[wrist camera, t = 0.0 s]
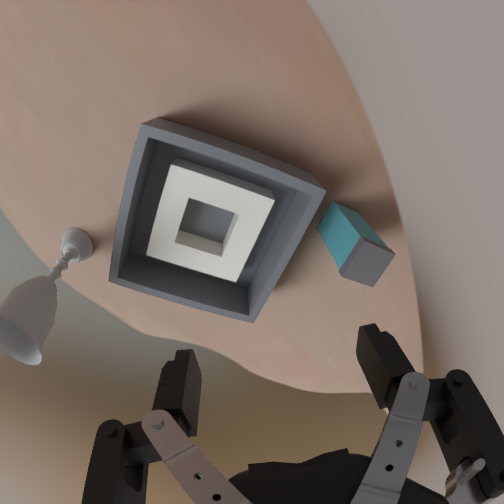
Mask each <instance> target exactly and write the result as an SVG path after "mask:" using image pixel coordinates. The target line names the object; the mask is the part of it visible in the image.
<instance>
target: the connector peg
mask: <svg viewBox="0 0 504 504" xmlns="http://www.w3.org/2000/svg"><path fill="white" fill-rule="evenodd" d="M317 229H318V231H319V233H320V234H321V236H322V238H323V240H324V242H325V243H326V245H327V247H328V249H329V251H330V253H331V254H332V256H333V258H334V260H335V262H336V264H337V266H338V267H339V269H340V270H339V272H340V274H341V276H342V277H344V278H347V279H350V280H353V281H356V282H359V283H362V284H365V285H368V286H371V287H373V286H374V285H375V284H376V282H377V281H378V279H379V278H380V277H381V275H382V274H383V272H384V271H385V269H386V268H387V266H388V265H389V264H390V262H391V261H392V259H393V258H394V256H395V253H394V252H393V251H392V250H391V249H389V248H388V247H387V246H386V244H385V243H384V242H383V241H382V240H381V238H380V237H379V236H378V235H377V234H376V233H375V231H374V230H373V229H372V228H371V227H370V226H369V224H368V223H367V222H366V221H365V220H364V219H363V218H362V217H361V215H360V214H359V213H358V212H356V211H353V210H351V209H349V208H347V207H345V206H343V205H340V204H338V203H336V202H334V201H332V202H331V204H330V206H329V208H328V210H327V211H326V213H325V215H324V217H323V219H322V220H321V222H320V224H319V226H318V228H317Z"/></svg>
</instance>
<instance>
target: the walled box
mask: <svg viewBox="0 0 504 504" xmlns="http://www.w3.org/2000/svg"><path fill="white" fill-rule="evenodd" d="M326 192H327V191H326V190H325V188H324V187H323V186H322V185H321V184H320V183H319V182H318V180H317V179H316V178H315V177H314V176H313V175H312V174H311V173H309V172H307V171H305V170H303V169H300V168H298V167H296V166H293V165H291V164H289V163H286V162H284V161H281V160H279V159H276V158H274V157H272V156H269V155H267V154H264V153H261V152H259V151H256V150H254V149H251V148H249V147H246V146H243V145H240V144H238V143H235V142H232V141H230V140H227V139H224V138H221V137H218V136H215V135H212V134H209V133H207V132H204V131H201V130H197V129H194V128H191V127H188V126H185V125H182V124H178V123H175V122H172V121H169V120H165V119H162V118H158V117H157V118H154V119H152V120H149V121H147V122H144V123H142V124H141V126H140V129H139V132H138V136H137V139H136V142H135V146H134V150H133V153H132V157H131V161H130V165H129V169H128V173H127V177H126V181H125V186H124V190H123V195H122V199H121V204H120V209H119V214H118V220H117V225H116V231H115V237H114V244H113V250H112V257H111V265H110V273H109V282H112V283H115V284H118V285H121V286H124V287H127V288H130V289H133V290H136V291H139V292H142V293H146V294H149V295H152V296H155V297H159V298H162V299H165V300H169V301H172V302H175V303H179V304H182V305H186V306H189V307H193V308H196V309H200V310H204V311H207V312H211V313H215V314H219V315H223V316H226V317H230V318H234V319H238V320H242V321H246V322H251V323H254V321H255V320H256V318H257V316H258V315H259V313H260V311H261V309H262V308H263V306H264V304H265V302H266V301H267V299H268V297H269V296H270V294H271V292H272V290H273V289H274V287H275V285H276V283H277V282H278V280H279V278H280V276H281V274H282V273H283V271H284V269H285V267H286V266H287V264H288V262H289V260H290V258H291V257H292V255H293V253H294V251H295V249H296V248H297V246H298V244H299V242H300V240H301V238H302V237H303V235H304V233H305V231H306V229H307V227H308V226H309V224H310V222H311V220H312V218H313V216H314V214H315V213H316V211H317V209H318V207H319V205H320V203H321V201H322V199H323V198H324V196H325V194H326Z"/></svg>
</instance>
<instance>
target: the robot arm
mask: <svg viewBox="0 0 504 504" xmlns="http://www.w3.org/2000/svg"><path fill="white" fill-rule="evenodd" d="M356 355H357V359H358V362H359V364H360V366H361V368H362V370H363V373H364V375H365V377H366V379H367V381H368V384H369V386H370V388H371V390H372V393H373V395H374V397H375V399H376V402H377V404H378V406H379V409H383V408H386V407H387V408H388V410H389V413H388V416H387V419H386V421H385V424H384V427H383V429H382V432H381V434H380V437H379V439H378V441H377V444H376V446H375V448H374V450H373V452H372V454H371V457H369V456H365V455H361V454H352V453H351V454H349V452H348V449H347V448H345V449H341V450H337V451H333V452H328V453H324V454H322V455H319V456H317V457H314V458H312V459H310V460H307V461H305V462H302V463H297V464H296V463H283V462H266V463H256V464H248V468H249V470H246V471H243V472H241V473H238V474H237V475H235V476H233V477H232V478H230V479H229V480H227V479H226V478H225V477H224V476H223V475H222V473H221V472H220V471H219V470H218V469H217V468H216V467H215V466H214V465H213V464H212V463H211V462H210V461H209V459H208V458H207V457H206V456H205V455H204V454H203V453H202V451H201V450H200V449H199V448H198V447H197V446H196V445H194V444H193V443H192V442H191V440H190V439H189V436H197V425H198V414H199V403H200V393H201V383H202V378H201V371H200V368H199V365H198V362H197V360H196V357H195V354H194V351H193V349H186V350H177V351H176V355H175V360H174V361H168V362H167V363H166V364H165V365H164V367H163V368H162V371H161V375H160V379H159V383H158V387H157V391H156V395H155V399H154V404H153V408H152V411H151V412H149V413H147V414H146V415H145V416H144V418H143V420H142V421H140V422H136V423H132V424H127V425H123V424H122V423H121V422H120V421H118V420H114V419H112V420H107V421H105V422H103V423H102V424H101V425H100V426H99V428H98V430H97V434H96V438H95V442H94V446H93V450H92V454H91V459H90V463H89V467H88V472H87V477H86V482H85V487H84V492H83V498H82V504H145V500H146V487H147V475H148V466H149V463H152V462H156V461H162V460H163V461H164V463H165V465H166V466H167V468H168V469H169V470H170V472H171V473H172V475H173V476H174V477H175V479H176V480H177V481H178V483H179V484H180V485H181V487H182V488H183V489H184V490H185V492H186V493H187V494H188V495H189V496H190V498H191V499H192V500H193V501H194V503H196V504H488V503H489V502H491V501H492V500H494V499H495V498H497V497H498V496H500V495H501V494H503V493H504V435H503V433H502V431H501V429H500V427H499V425H498V424H497V422H496V420H495V418H494V416H493V414H492V413H491V411H490V409H489V407H488V406H487V404H486V402H485V400H484V399H483V397H482V395H481V394H480V392H479V390H478V389H477V387H476V386H475V384H474V382H473V381H472V379H471V378H470V376H469V375H468V374H467V373H466V372H465V371H462V370H458V369H456V370H452V371H450V372H449V373H448V374H447V375H446V377H445V378H441V379H428V378H427V377H426V376H425V375H424V374H422V373H419V372H416V371H415V370H414V368H413V367H412V365H411V363H410V362H409V360H408V359H407V357H406V355H405V354H404V352H403V351H402V349H401V348H400V346H399V345H398V343H397V341H396V340H395V338H394V337H393V336H392V335H390V334H389V333H388V332H386V331H384V332H380V330H379V328H378V327H377V325H376V324H375V323H373V324H368V325H364V326H360V327H359V332H358V340H357V347H356ZM423 421H429V422H430V424H431V426H432V428H433V431H434V433H435V435H436V438H437V440H438V443H439V445H440V447H441V450H442V453H443V455H444V458H445V460H446V463H447V466H448V468H449V471H450V474H449V475H448V477H447V479H446V482H445V486H446V494H445V497H444V496H442V495H440V494H439V493H436V492H434V491H432V490H430V489H428V488H426V487H424V486H422V485H420V484H418V483H416V482H415V481H413V480H411V479H409V478H407V477H406V476H407V474H408V471H409V468H410V465H411V463H412V460H413V457H414V454H415V451H416V448H417V444H418V441H419V438H420V434H421V430H422V427H423Z"/></svg>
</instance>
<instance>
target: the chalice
mask: <svg viewBox="0 0 504 504" xmlns="http://www.w3.org/2000/svg"><path fill="white" fill-rule="evenodd" d="M61 251H62V254H63V256H64V257H63V258H59V259H57V261H56V263H57V266H56V267H54V268H51V269H50V275H49V277H47V276H39V277H36V278H33V279H30V280H27V281H25V282H23V283H22V284H20V285H18V286H16V287H15V288H13V289H12V290H11V291H10V293H9V294H8V296H7V297H6V299H5V300H4V301H3V303H2V304H1V305H0V348H1V349H2V350H3V351H5V352H6V353H7V354H9V355H10V356H11V357H13V358H15V359H16V360H18V361H20V362H23V363H25V364H30V365H36V364H39V363H40V362H41V348H42V346H43V344H44V342H45V340H46V338H47V336H48V334H49V333H50V331H51V329H52V327H53V325H54V322H55V314H56V307H57V287H56V285H55V283H54V281H55V280H56V279H57V278H60V277H61V271H62V270H66V269H67V268H68V261H69V262H72V263H78V262H80V261H83V260H85V259H87V258H89V257H90V256H91V255H92V252H93V244H92V241H91V239H90V237H89V236H88V235H87V234H86V233H85V232H84V231H82V230H80V229H78V228H70V229H68V230H66V231H65V233H64V234H63V239H62V244H61Z"/></svg>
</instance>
